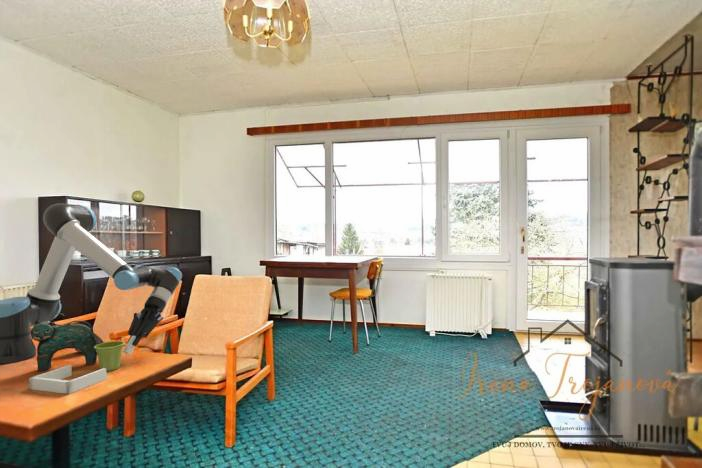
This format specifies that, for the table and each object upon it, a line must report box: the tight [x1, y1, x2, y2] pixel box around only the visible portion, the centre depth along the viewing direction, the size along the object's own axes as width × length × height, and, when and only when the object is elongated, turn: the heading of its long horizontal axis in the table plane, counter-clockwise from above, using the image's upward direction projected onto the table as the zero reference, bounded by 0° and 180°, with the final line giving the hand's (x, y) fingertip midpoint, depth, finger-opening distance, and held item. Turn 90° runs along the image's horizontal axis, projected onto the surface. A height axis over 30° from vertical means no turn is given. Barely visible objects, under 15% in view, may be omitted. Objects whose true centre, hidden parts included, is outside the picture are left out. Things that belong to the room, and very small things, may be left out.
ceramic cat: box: [30, 312, 98, 373], centre depth 153 cm, size 20×6×20 cm, turn 112°
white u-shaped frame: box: [28, 364, 108, 395], centre depth 134 cm, size 16×13×4 cm
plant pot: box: [94, 340, 125, 372], centre depth 149 cm, size 9×9×9 cm
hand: (126, 352), depth 155 cm, fingers closed
